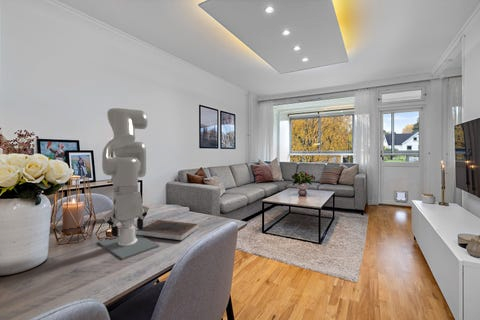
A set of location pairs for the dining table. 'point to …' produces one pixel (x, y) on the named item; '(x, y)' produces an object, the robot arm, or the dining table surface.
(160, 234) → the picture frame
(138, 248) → the mat
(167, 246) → the dining table surface
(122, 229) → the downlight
